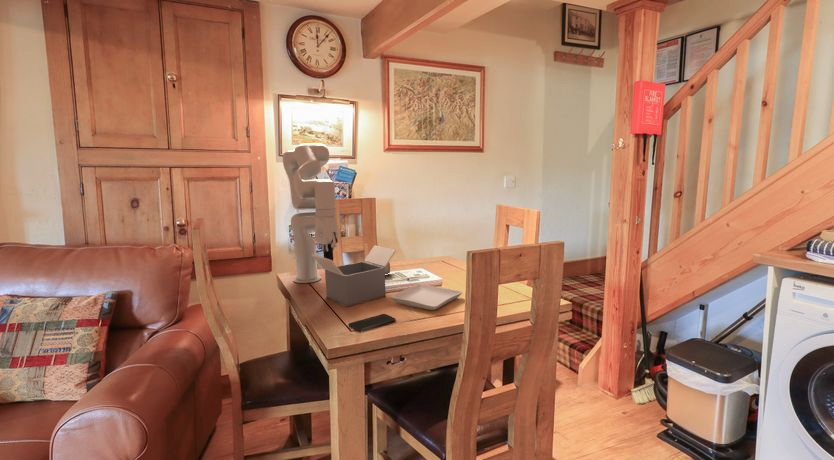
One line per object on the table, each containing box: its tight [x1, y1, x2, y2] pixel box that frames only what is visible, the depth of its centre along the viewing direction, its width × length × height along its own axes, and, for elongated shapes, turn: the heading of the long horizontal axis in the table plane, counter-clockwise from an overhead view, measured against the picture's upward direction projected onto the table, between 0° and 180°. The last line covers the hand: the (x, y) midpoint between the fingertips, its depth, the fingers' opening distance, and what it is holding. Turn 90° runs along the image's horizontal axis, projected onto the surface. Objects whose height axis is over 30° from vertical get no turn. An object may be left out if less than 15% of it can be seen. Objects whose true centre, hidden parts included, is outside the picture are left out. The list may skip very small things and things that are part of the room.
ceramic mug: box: [371, 261, 391, 274], centre depth 212 cm, size 11×8×8 cm
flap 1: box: [312, 254, 344, 276], centre depth 169 cm, size 15×8×1 cm
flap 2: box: [363, 244, 397, 267], centre depth 184 cm, size 15×8×1 cm
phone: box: [348, 313, 397, 333], centre depth 149 cm, size 8×1×15 cm
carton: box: [324, 261, 387, 308], centre depth 178 cm, size 16×18×12 cm
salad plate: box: [389, 284, 463, 311], centre depth 171 cm, size 21×21×3 cm
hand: (328, 260), depth 169 cm, fingers closed
